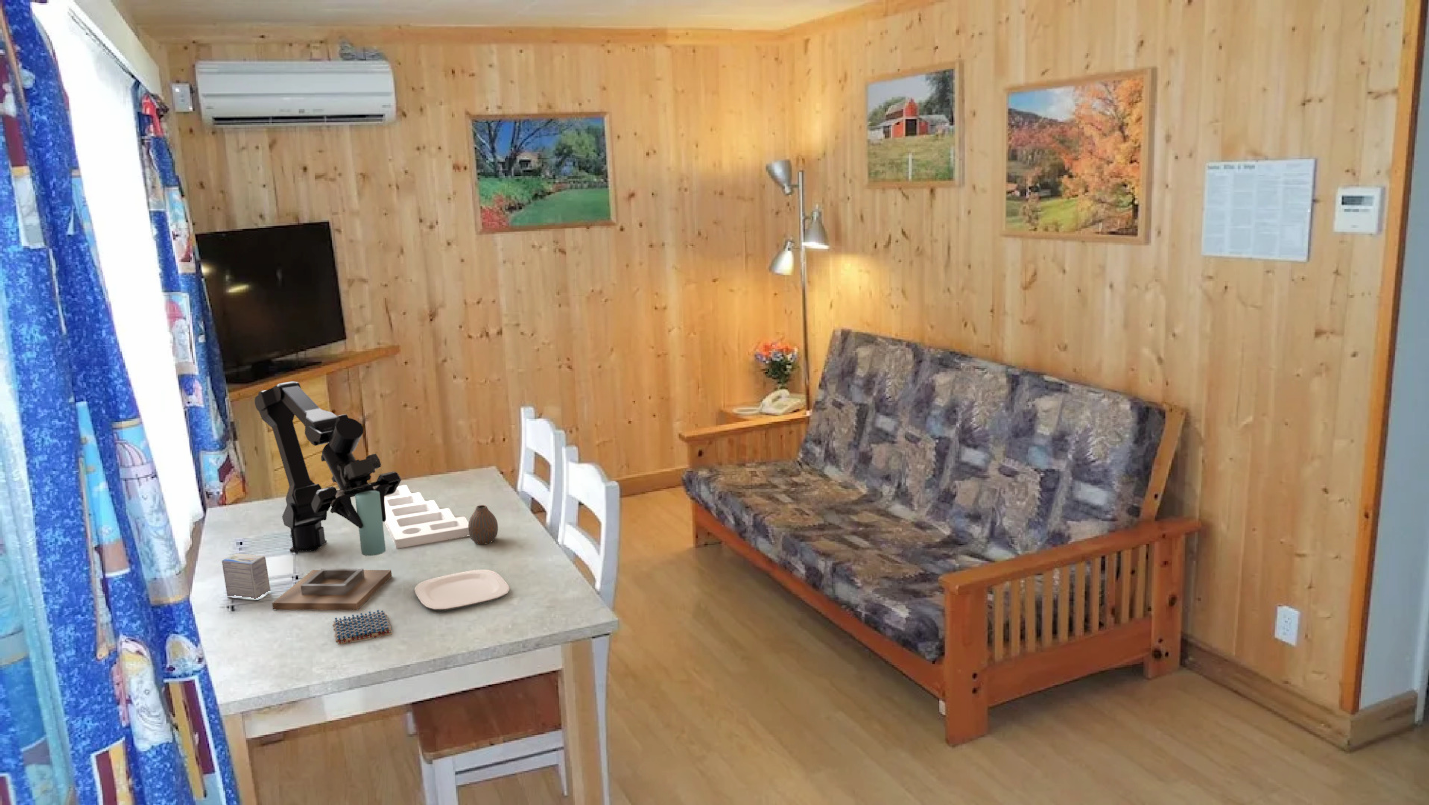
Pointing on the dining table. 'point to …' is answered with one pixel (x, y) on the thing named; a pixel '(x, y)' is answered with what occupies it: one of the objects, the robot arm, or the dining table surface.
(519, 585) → the dining table surface
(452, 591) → the plate
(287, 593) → the board
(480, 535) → the vase
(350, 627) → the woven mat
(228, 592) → the medicine box
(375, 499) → the pin
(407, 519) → the holder
